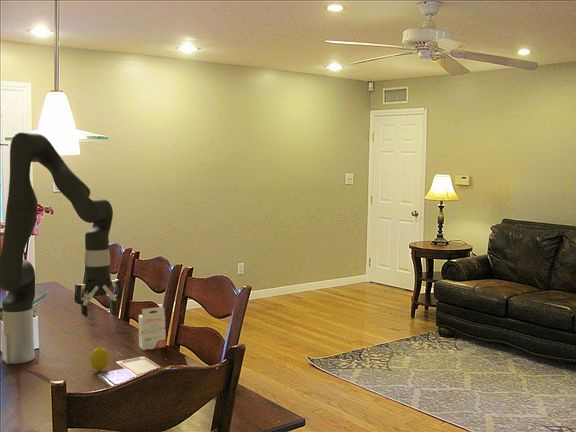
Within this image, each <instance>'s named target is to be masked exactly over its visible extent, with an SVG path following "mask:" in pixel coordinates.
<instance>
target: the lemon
mask: <svg viewBox="0 0 576 432" xmlns="http://www.w3.org/2000/svg"><path fill="white" fill-rule="evenodd" d="M90 355H91V356H90V364H91V366H92V368H93V369H95V370H96V371H98V372H101V371H103V370H104V369H106V368H107V367H108V364H109V362H110V356H109V353H108V350H107V349H106V348H104V347H102V346H98V347H96V348H95V349H93V350H92V352H91V354H90Z"/></svg>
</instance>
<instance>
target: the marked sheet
mask: <svg viewBox="0 0 576 432" xmlns="http://www.w3.org/2000/svg"><path fill="white" fill-rule="evenodd" d="M115 363H116V364H117V365H118V366H120V368H121V369H124V368H125V369H126V368H127V369H128V370H129V371H131V372H132V373H133V374H135V375H136V376H138V375H140V374H142V373H145V372H148V371H150V370H153V369H156V368H160V367H161V366H160V365H158V364H157V363H155V362H154V361H152V360H151V359H149V358H148V357H146V356H139V357H138V356H137V357H134V358H129V359H124V360H118V361H115Z"/></svg>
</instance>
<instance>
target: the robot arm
mask: <svg viewBox="0 0 576 432" xmlns="http://www.w3.org/2000/svg"><path fill="white" fill-rule="evenodd" d="M32 163H39V164H40V165H42V166H43V167H44V168H46V170H48V172H49V173H50V174H51V177H52V180H53V183H54V186H56V188H57V190H58V191H59V192H60V193H61V194H62V195H63V196H64V197H65V198H66V199H67V200H68V201H69V202H70V203H71V205H72V208H73V209H74V211H75V212H76V214H77V216H78V217H79V218H80V220H82V221H83V222H86V223H89V224H92V227H91V228H90V229H89V230H87V231H86V232H85V235H84V247H85V249H84V250H85V253H84V272H85V273H84V274H85V275H84V277H85V282H84V283H81V284H79V283H75V284H74V303H75V304H78V305H80V311H81V315H82V316H83V317H84V318H87V317H89V313H88V311H89V310H88V309H89V307H88V304H89V301H90V300H92V298H93V297H99V296H103V297H104V296H105V295H106V296H107V298H109V299H110V300H109V312H110V314H115V312H116V310H117V301H118V300H119V299H122V297H123V294H122V293H123V290H122V281H121V280H120V279H117V278H115V279H114V280H111V279H112V278H111V253H110V240H109V236H110V231H111V226H112V222H113V217H114V209H113V206H112V205H111V202H110V201H109V200H108V199H106V198H99V199H98V198H97V199H91V197H90V195H91V189H90V188H89V186H88V185H87V184H86V183H85V182H83V180H82V179H81V178H79V176H77V174H76V173H74V172H73V170H72V169H71V168H70V167H69V165H67V163H66V162H65V160H64V159H63V158H62V157H61V156H60V154H59V152H58V151H57V150H56V149H55V146H53V144H52V143H51V141H50V140H49V139H48V137H46V136H45V135H43V134H40V133H32V132H18V133H16V134H14V136H13V137H12V139H11V142H10V146H9V183H8V193H7V201H6V210H5V221H4V231H3V238H2V246H1V251H0V288H1V289H2V290H3V291H6V292H8V293H7V296H6V297H5V298H4V300H3V301H2V305H1V307H2V308H1V309H2V332H1V347H2V348H1V349H2V351H1V352H2V360H3V361H4V362H5V364H6V365H10V364H11V365H13V364H15V365H17V364H25V363H28V362H30V361H33V360H35V339H34V338H35V335H34V307H33V306H34V305H33V304H34V300H35V297H36V271H35V269H34V266H33V265H32V263H31V262H30V261H29V260H26V259H24V254H25V249H26V246H27V244H28V242H29V240H30V238H31V235H32V233H33V231H34V230H35V227H36V222H37V216H38V207H39V206H38V205H39V203H38V199H37V196H36V192H35V190H34V188H33V185H32V183H31V175H30V174H31V165H32ZM112 286H113V287H114V294H113V292H112V291H111V290H110V288H112ZM84 289H85V290H86V292H85V293H84V295H83V297H82V292H83V291H84Z"/></svg>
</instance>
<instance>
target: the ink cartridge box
mask: <svg viewBox="0 0 576 432" xmlns="http://www.w3.org/2000/svg"><path fill="white" fill-rule="evenodd" d="M153 311H154V312H153ZM150 312H151V313H150ZM165 314H166V313H165V307H164V306H160V307H151V308H150V307H149V308H142V309H141V314H138V341H139V342H138V347H139V348H140V349H141V350H142V351H146V350H147V349H148V350H153V349H160V348H161V349H162V348H166V347H167V344H166V343H167V341H166V339H167V338H166V337H167V336H166V335H167V334H166V315H165Z"/></svg>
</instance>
